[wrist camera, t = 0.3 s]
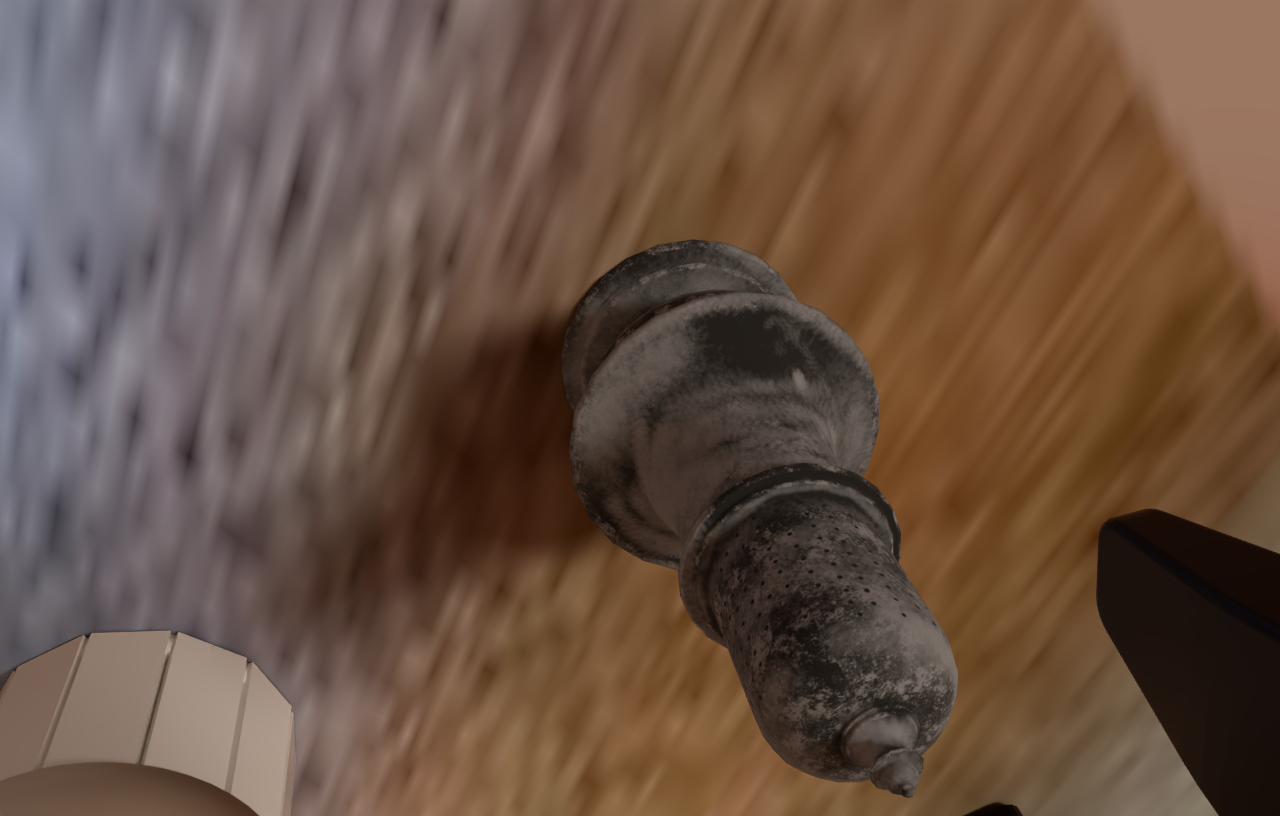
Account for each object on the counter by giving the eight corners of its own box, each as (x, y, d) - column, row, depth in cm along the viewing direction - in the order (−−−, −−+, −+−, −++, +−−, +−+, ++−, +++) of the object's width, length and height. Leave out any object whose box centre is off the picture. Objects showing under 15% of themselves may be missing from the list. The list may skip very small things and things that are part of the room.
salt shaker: (628, 520, 25) (788, 1019, 15) (492, 319, 22) (576, 768, 12) (857, 393, 25) (1185, 817, 15) (750, 171, 22) (1066, 506, 12)
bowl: (348, 771, 27) (341, 912, 24) (109, 884, 28) (68, 1039, 24) (186, 585, 24) (151, 718, 20) (-84, 715, 24) (-164, 868, 21)
